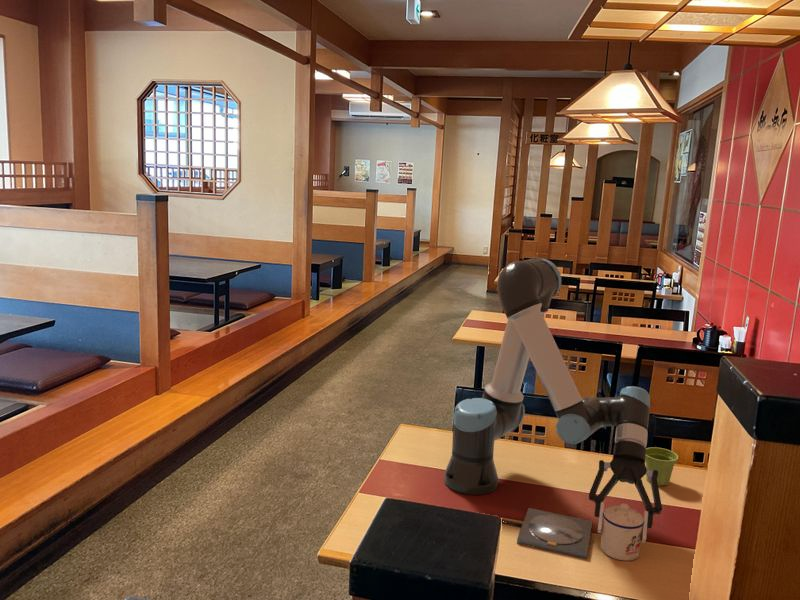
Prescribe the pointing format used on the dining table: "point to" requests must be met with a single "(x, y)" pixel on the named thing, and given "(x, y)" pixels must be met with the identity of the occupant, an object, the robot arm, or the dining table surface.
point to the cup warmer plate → (555, 532)
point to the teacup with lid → (621, 532)
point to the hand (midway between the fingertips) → (621, 536)
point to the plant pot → (661, 463)
